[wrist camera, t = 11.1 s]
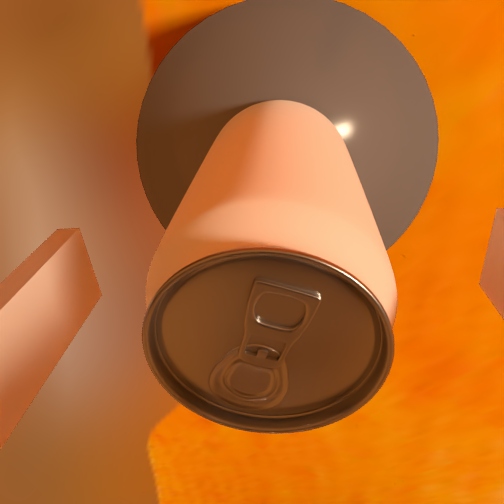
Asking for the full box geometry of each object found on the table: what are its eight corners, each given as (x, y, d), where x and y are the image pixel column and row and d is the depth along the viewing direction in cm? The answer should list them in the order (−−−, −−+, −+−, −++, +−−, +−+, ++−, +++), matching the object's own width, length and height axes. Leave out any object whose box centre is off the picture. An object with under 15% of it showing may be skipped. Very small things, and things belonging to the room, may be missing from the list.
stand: (290, 287, 28) (291, 327, 24) (113, 155, 24) (84, 180, 20) (470, 131, 22) (504, 155, 18) (271, -83, 18) (267, -104, 14)
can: (198, 208, 21) (110, 410, 11) (228, 77, 17) (140, 187, 7) (319, 243, 21) (345, 466, 11) (371, 122, 18) (478, 283, 8)
